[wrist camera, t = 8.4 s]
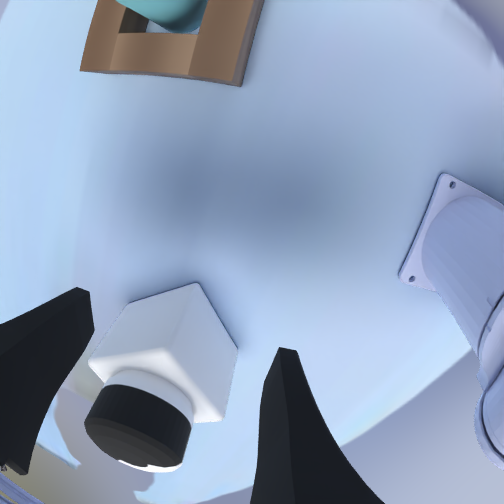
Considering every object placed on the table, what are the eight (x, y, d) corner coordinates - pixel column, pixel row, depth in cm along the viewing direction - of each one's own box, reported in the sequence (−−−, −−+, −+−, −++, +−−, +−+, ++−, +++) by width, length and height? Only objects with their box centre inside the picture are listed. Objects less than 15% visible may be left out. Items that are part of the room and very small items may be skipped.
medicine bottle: (126, 302, 23) (50, 416, 12) (198, 279, 21) (131, 426, 10) (169, 362, 25) (125, 475, 14) (240, 350, 23) (212, 486, 13)
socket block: (275, -37, 11) (273, -60, 8) (241, 87, 15) (231, 81, 12) (141, -40, 11) (120, -56, 8) (106, 73, 15) (79, 71, 12)
